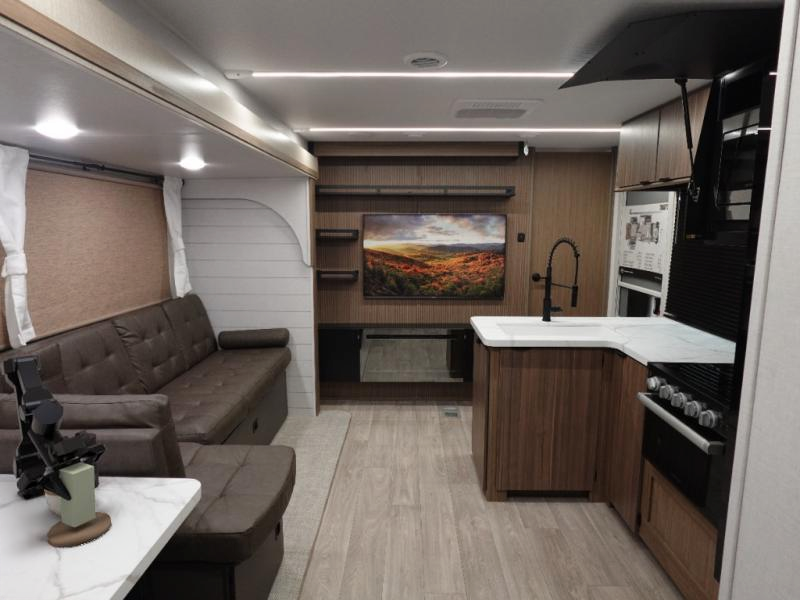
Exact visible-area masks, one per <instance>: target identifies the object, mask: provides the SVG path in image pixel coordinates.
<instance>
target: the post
mask: <svg viewBox="0 0 800 600" xmlns="http://www.w3.org/2000/svg"><path fill="white" fill-rule="evenodd" d="M59 475H60V479H61V481H62V482H63V484H64V485H65V487H66V488H67V490H68V491H69V493H70V495H71V498H72V499H71V500H70V501H67V500H65V499H64V498H62V497H61V516H60V517H61V520H62V523H65V524H67V525H70V526H72V527H77V526H79V525H81V524H83V523H85V522H88V521H90V520H92V519H94V518H96V517H95V512H96V491H95V489H96V488H95V483H94V466H91V465H88V464H85V463H82V462H80V463H77V464H75V465H72V466H69V467H66V468H64V469H61V470H60V471H59Z"/></svg>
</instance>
